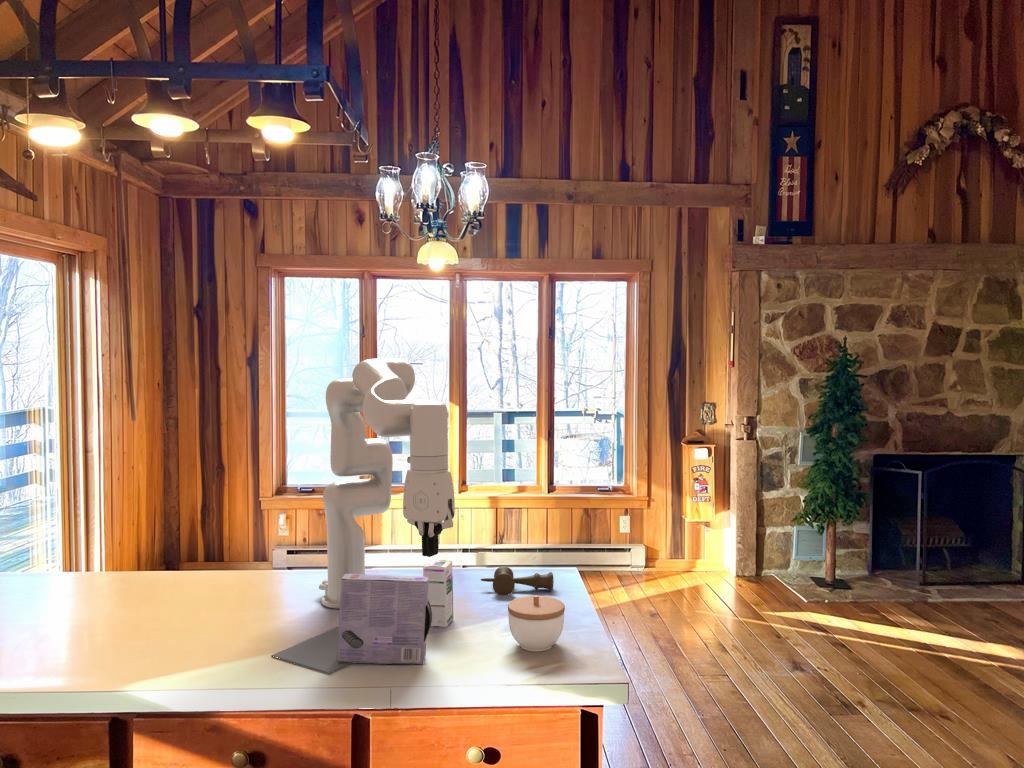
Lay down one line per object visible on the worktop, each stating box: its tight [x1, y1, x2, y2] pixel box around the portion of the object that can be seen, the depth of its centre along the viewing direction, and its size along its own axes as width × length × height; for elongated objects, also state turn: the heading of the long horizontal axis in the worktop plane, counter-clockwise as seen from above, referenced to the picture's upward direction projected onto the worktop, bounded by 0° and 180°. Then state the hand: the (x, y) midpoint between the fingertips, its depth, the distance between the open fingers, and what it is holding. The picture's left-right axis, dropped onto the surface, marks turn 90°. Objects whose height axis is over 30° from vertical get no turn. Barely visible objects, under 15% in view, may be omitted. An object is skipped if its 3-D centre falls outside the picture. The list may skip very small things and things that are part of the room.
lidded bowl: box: [507, 594, 566, 652], centre depth 166 cm, size 13×13×11 cm
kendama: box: [480, 566, 555, 596], centre depth 206 cm, size 6×10×20 cm
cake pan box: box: [337, 573, 432, 665], centre depth 158 cm, size 19×5×18 cm, turn 91°
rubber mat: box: [271, 625, 355, 675], centre depth 165 cm, size 17×22×1 cm
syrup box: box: [422, 559, 454, 628], centre depth 180 cm, size 6×6×14 cm
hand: (430, 554), depth 151 cm, fingers closed
